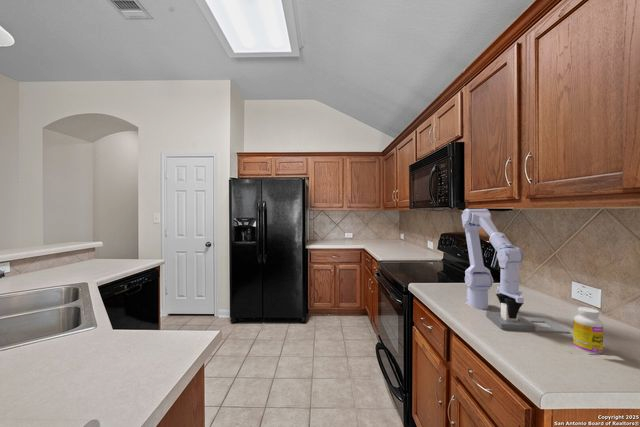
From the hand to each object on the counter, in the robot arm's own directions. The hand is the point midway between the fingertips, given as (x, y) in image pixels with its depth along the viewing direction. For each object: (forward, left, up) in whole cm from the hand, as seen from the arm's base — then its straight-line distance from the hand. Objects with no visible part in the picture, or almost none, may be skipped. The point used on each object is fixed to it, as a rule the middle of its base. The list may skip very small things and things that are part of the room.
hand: (509, 315), depth 103 cm
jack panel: (0, +5, -4) cm, 7 cm away
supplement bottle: (+16, +14, -4) cm, 22 cm away
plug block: (0, 0, -3) cm, 3 cm away
